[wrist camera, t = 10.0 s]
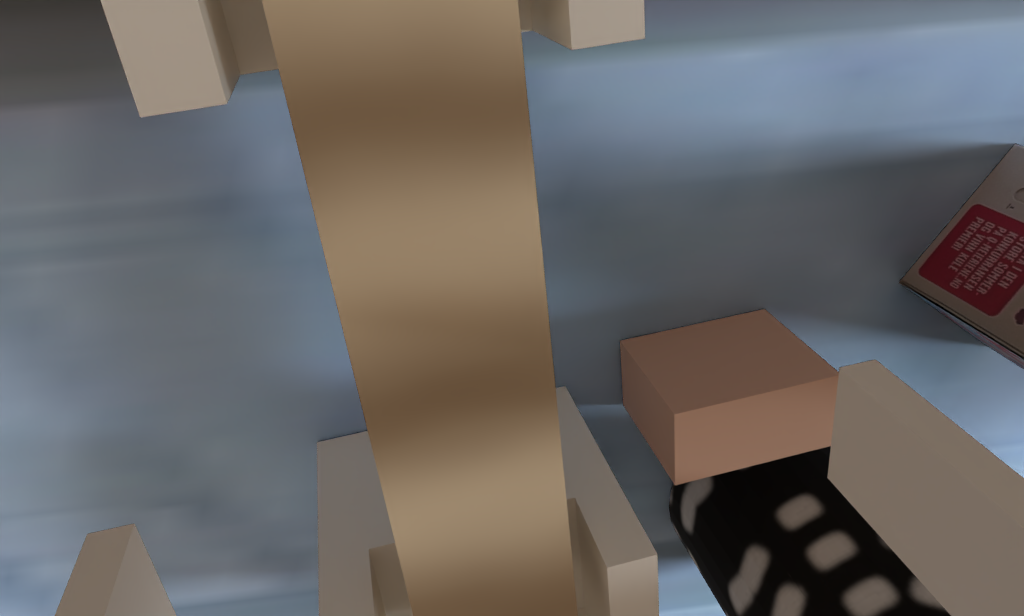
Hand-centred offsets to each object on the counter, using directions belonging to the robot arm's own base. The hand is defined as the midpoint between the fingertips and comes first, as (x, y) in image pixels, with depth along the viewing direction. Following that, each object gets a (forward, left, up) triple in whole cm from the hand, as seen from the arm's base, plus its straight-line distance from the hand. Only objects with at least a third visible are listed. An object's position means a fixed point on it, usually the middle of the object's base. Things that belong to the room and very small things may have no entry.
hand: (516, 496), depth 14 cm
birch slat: (0, 0, -7) cm, 7 cm away
